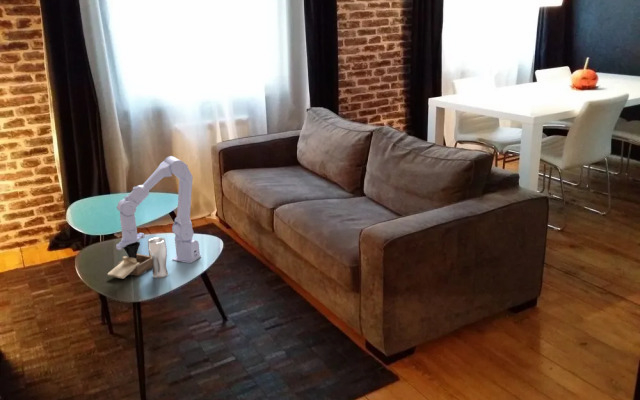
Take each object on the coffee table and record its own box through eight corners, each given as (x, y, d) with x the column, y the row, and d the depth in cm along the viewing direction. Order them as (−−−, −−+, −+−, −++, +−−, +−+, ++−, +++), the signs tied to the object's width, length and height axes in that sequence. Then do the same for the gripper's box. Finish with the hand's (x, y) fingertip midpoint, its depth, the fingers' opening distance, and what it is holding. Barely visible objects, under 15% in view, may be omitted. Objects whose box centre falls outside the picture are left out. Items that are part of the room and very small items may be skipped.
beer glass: (160, 280, 239) (156, 244, 235) (147, 276, 243) (143, 241, 238) (172, 273, 245) (169, 239, 240) (160, 270, 248) (156, 236, 244)
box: (155, 265, 253) (154, 256, 252) (138, 276, 243) (137, 266, 242) (136, 262, 257) (135, 253, 256) (118, 272, 247) (117, 263, 246)
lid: (139, 264, 245) (138, 258, 244) (123, 278, 237) (121, 272, 236) (124, 261, 249) (122, 255, 247) (107, 275, 241) (105, 269, 239)
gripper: (133, 221, 251) (137, 252, 255) (108, 233, 238) (112, 265, 242) (147, 223, 248) (150, 254, 252) (122, 235, 235) (126, 267, 239)
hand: (133, 260), depth 247 cm, fingers closed
